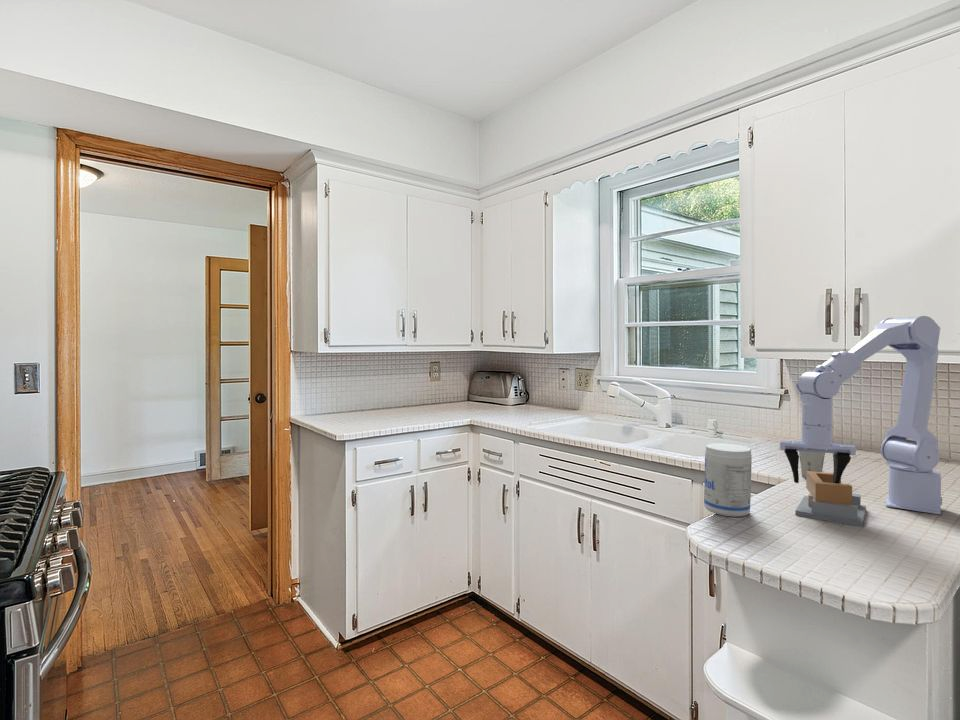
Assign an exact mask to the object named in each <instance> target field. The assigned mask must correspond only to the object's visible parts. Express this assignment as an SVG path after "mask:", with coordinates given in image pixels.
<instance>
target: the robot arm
mask: <svg viewBox="0 0 960 720" xmlns="http://www.w3.org/2000/svg"><path fill="white" fill-rule="evenodd" d="M940 332H941V326H939V324H938V323H937V322H936V320H934V319H933V318H932V317H931V316H927V315H920V316H911V317H910V316H908V317H897V318H896V317H887V318H884V319H882V320H881V321H880V322H879V323H876V324H875V325H874V327H873V330H872V331H871V332H870V333H869V334H867V335H866V336H865V337H863V338H862V339H861V340H860V341H858V343H856V345H854V346H853V347H852V348H851V349H850V350H848V351H844V350H843V351H842V350H841V351H834V352H832V354H830V356H831V357H830V358H829V359H828V360H826V361H824V362H823V363H822V364H818V365H817V366H816V367H815V368H814V370H813V371H806V372H804V373H802V374H801V375H800V377H799V378H798V381H797V382H796V383H795V388H796V390H797V392H798V393H799V395H800V401H801V440H779V442H778V443H779V444H778V449H779V450H780V451H784V454H785V456H786V458H787V460H788V462H789V465H790V469H791V472H792V475H793V476H792V478H793V482H794V483H795V484H799V483H800V482H799V481H800V479H799V478H800V475H799V463H800V456H799V451H807V452H822V453H825V454H832V458H833V462H832V463H833V471H832V473H833V483H838V484H839V482H840V479H841V480H842V476H843V473H844V472H845V470H846V467H847V466H848V465H849V463H850V462H851V459H852V457H851V456H856V454H857V446H855V445H853V444H851V445H850V444H841V443H833V441H832V438H833V436H832V435H833V434H832V433H833V429H832V428H833V427H832V426H833V420H832V419H833V397H835V396H837V394H838V393H839V392H840V388H841V386H842V385H843V384H844V382H845V381H847V380H849V379H850V378H852V376H854V375H856V374H857V373H858V372H859V371H861V368H862V362H864V361H866V360H868V359H869V358H870V357H872V356H874V355H875V354H877V353H879V352H880V351H881V350H882V349H884V348H886V347H887V346H888V347H890V348H892V349H893V350H894V351H897V352H898V353H900V354H901V355H902V356H903V357H904V358H905V359H906V362H905V367H904V369H905V370H904V373H903V374H904V375H903V381H902V389H901V395H900V403H899V409H898V415H897V423H896V425H894V426H893V427H891V428H889V429H887V431H886V433H885V438H884V439H883V441H882V442H881V446H880V455H881V457H882V459H884V461H886V465H887V466H888V496H886V499H885V500H886V501H885V507H888V508H895V509H903V510H909V511H915V512H923V513H928V514H935V515H941V514H942V513H941V506H942V505H943V497H942V495H941V494H942V475H941V472H940V471H934V469H935V468H936V467H937V466H938V464H939V462H940V459H941V458H940V451H939V438H938V437H937V436H935V435H934V434H933V433H932V432H931V431H930V430H929V429H928V427H929V420H930V415H931V414H930V413H931V407H932V401H933V394H934V386H935V380H936V374H937V367H938V358H939V341H940V334H941V333H940ZM801 448H802V449H801ZM807 448H809V449H807ZM816 449H819V450H816Z"/></svg>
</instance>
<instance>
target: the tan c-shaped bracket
mask: <svg viewBox="0 0 960 720" xmlns="http://www.w3.org/2000/svg"><path fill="white" fill-rule="evenodd" d="M805 479H806V481H805V483H806V484H805V485H806V489H807V490H808V492H809V493H810V494H811V495H812V497H813V498H814V500H815V501H817V502H827V503H837V504H846V505H852V493H853V486H852V485H851V484H847V483H842V478H841V479H840V482H839V484H838V483H833V472H824V471H822V472H813V471H807V473H806V478H805Z"/></svg>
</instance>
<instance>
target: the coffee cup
mask: <svg viewBox="0 0 960 720" xmlns="http://www.w3.org/2000/svg"><path fill="white" fill-rule="evenodd" d="M801 449H802V448H801ZM807 449H809V448H807ZM816 450H819V449H816ZM798 455H799V463H800V473H801V477H802V478H804V479H806V473H807V471H813V472H823V469H824V462H825V457H826V456H825V455H826V453H822V452H807V451H798Z"/></svg>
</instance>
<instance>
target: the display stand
mask: <svg viewBox="0 0 960 720" xmlns="http://www.w3.org/2000/svg"><path fill="white" fill-rule="evenodd" d="M861 495H862V494H858V493H853V492H852V505H846V504H837V503H827V502H817V501H815V500H814V498H813V497H812V495H811V494H810V492H809V493H808V496H806V495H804V496H803V497H802V499H801V501H800V502H799V504H798V505H797V507H796V508H795V516H799V517H804V518H811V519H816V520H817V519H818V520H820V521H821V520H822V521H828V522H835V523H840V524H845V525H852V526H854V527H855V526H856V527H861V528H863V527H864V522H865V516H866V512H867V511H866V510H867V505H864V504H861V500H862V499H861V497H862V496H861Z"/></svg>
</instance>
